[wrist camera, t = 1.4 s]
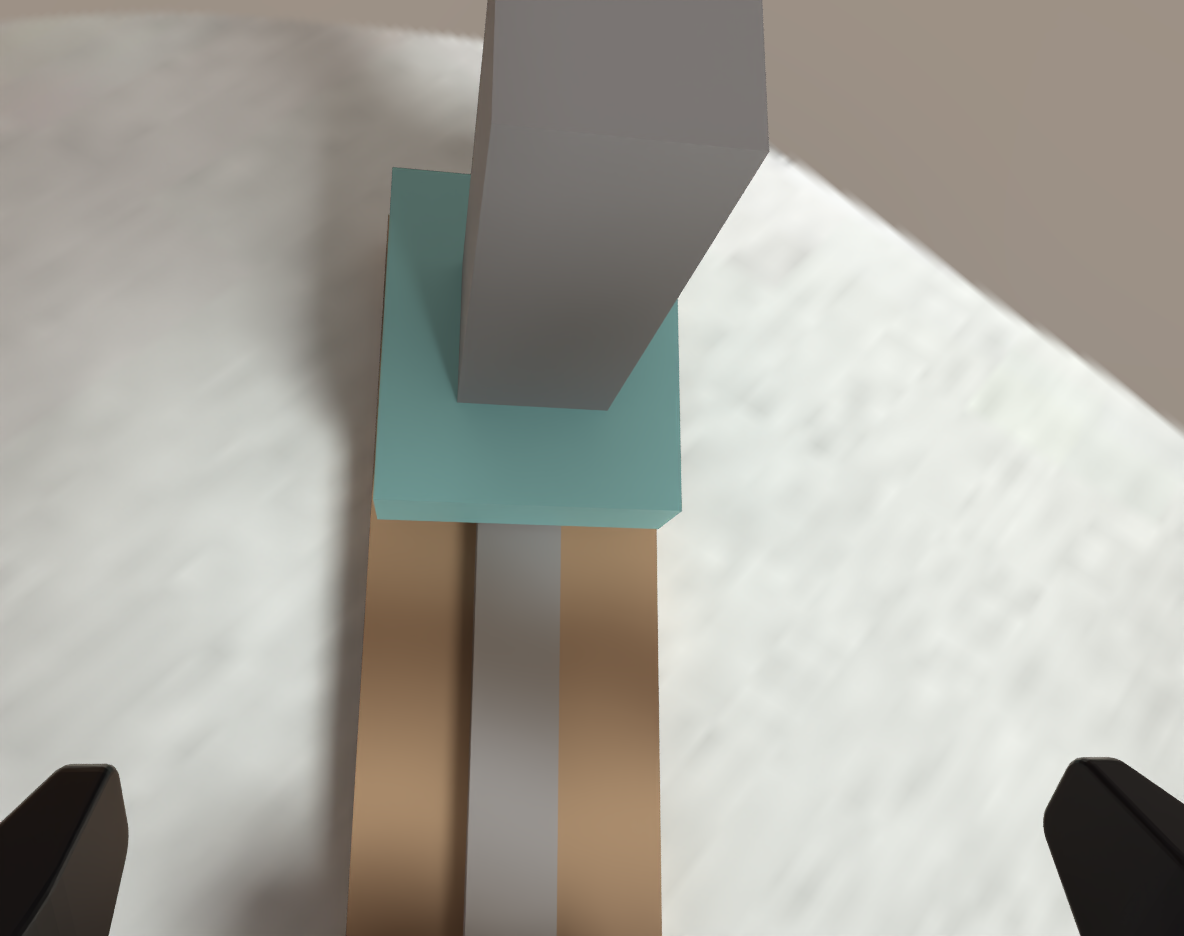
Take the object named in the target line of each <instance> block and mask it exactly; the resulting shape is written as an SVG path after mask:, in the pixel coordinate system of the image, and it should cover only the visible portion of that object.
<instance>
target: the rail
mask: <svg viewBox="0 0 1184 936" xmlns="http://www.w3.org/2000/svg"><path fill="white" fill-rule="evenodd" d="M389 220H390V215H388V231H387V248H386V265H385V281H384V298H383V315H382V332H381V349H380V366H379V383H378V400H377V417H376V434H375V450H374V467H373V484H372V501H371V518H370V535H369V552H368V569H367V586H366V603H365V620H364V636H363V653H362V670H361V687H360V704H359V721H358V738H357V755H356V772H355V789H354V806H353V822H352V839H351V856H350V873H349V890H348V907H347V924H346V936H662V912H661V837H660V761H659V686H658V610H657V535H656V529H642V528H613V527H585V526H556V525H527V524H498V523H469V522H440V521H412V520H383V519H377V515H376V511H375V506H374V501H373V492H374V475H375V458H376V441H377V424H378V407H379V390H380V373H381V356H382V339H383V322H384V305H385V288H386V271H387V254H388V237H389Z"/></svg>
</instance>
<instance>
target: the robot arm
mask: <svg viewBox="0 0 1184 936" xmlns="http://www.w3.org/2000/svg"><path fill="white" fill-rule="evenodd" d="M1043 827H1044V833H1045V837H1046V841H1047V843H1048V846H1049V849H1050V852H1051V855H1052V857H1053V860H1054V863H1055V866H1056V869H1057V871H1058V874H1059V877H1060V880H1061V883H1062V886H1063V888H1064V891H1065V894H1066V897H1067V900H1068V902H1069V905H1070V908H1071V911H1072V914H1073V916H1074V919H1075V922H1076V925H1077V928H1078V930H1079V933H1080V936H1184V804H1183V803H1182V802H1180V801H1179V800H1177V799H1176V798H1174V797H1173V796H1172V795H1170V794H1169V793H1167V792H1166V791H1164V790H1163V789H1162V788H1160V787H1159V786H1157V785H1156V784H1154V783H1153V782H1151V781H1150V780H1149V779H1147V778H1146V777H1144V776H1143V775H1141V774H1140V773H1138V772H1137V771H1136V770H1134V769H1133V768H1131V767H1130V766H1128V765H1127V764H1125V763H1124V762H1122V761H1120V760H1118V759H1115V758H1111V757H1081V758H1077V759H1075V760H1074V761H1072V762H1071V763H1070V764H1069V766H1068V767H1067V769H1066V771H1065V773H1064V775H1063V776H1062V778H1061V780H1060V782H1059V784H1058V786H1057V788H1056V790H1055V792H1054V794H1053V796H1052V798H1051V800H1050V801H1049V803H1048V805H1047V807H1046V810H1045V812H1044V818H1043ZM128 837H129V835H128V823H127V817H126V812H125V806H124V800H123V795H122V789H121V783H120V778H119V774H118V772H117V770H116V768H115V767H114V766H112V765H108V764H69V765H65V766H63V767H61V768H59V769H58V770H56V771H55V772H54V773H53V774H52V775H51V776H50V777H49V778H48V779H46V780H45V781H44V782H43V783H42V784H41V785H40V786H39V787H38V788H37V789H36V790H35V791H34V792H33V793H32V794H30V795H29V796H28V797H27V798H26V799H25V800H24V801H23V802H22V803H21V804H20V805H19V806H18V807H17V808H16V809H14V810H13V811H12V812H11V813H10V814H9V815H8V816H7V817H6V818H5V819H4V820H3V821H2V822H1V823H0V936H108V935H109V931H110V927H111V922H112V918H113V913H114V909H115V904H116V900H117V895H118V891H119V886H120V882H121V878H122V873H123V869H124V864H125V860H126V855H127V848H128Z"/></svg>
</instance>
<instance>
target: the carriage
mask: <svg viewBox="0 0 1184 936" xmlns="http://www.w3.org/2000/svg"><path fill="white" fill-rule="evenodd" d="M768 153H769V137H768V116H767V94H766V72H765V52H764V29H763V8H762V0H488V3H487V14H486V24H485V34H484V44H483V54H482V65H481V75H480V86H479V96H478V106H477V117H476V127H475V137H474V148H473V158H472V168H471V174H461V173H450V172H439V171H429V170H418V169H407V168H396V167H393V169H392V186H391V203H390V220H389V237H388V254H387V271H386V288H385V305H384V322H383V339H382V356H381V373H380V390H379V407H378V424H377V441H376V458H375V475H374V492H373V501H374V506H375V511H376V515H377V519H383V520H412V521H440V522H469V523H498V524H527V525H556V526H585V527H613V528H642V529H659V528H660V527H662V526H663V525H664V524H665V523H667V522H668V521H669V520H671V519H672V518H673V517H675V516H676V515H677V514H678V513H680V512H681V511H682V500H681V449H680V398H679V348H678V297H679V295H680V294H681V292H682V290H683V289H684V287H685V286H686V284H687V282H688V281H689V279H690V278H691V276H692V274H693V273H694V271H695V270H696V268H697V266H698V265H699V263H700V262H701V260H702V258H703V257H704V255H705V254H706V252H707V250H708V249H709V247H710V246H711V244H712V242H713V241H714V239H715V238H716V236H717V234H718V233H719V231H720V230H721V228H722V226H723V225H724V223H725V222H726V220H727V218H728V217H729V215H730V214H731V212H732V210H733V209H734V207H735V206H736V204H737V202H738V201H739V199H740V198H741V196H742V194H743V193H744V191H745V190H746V188H747V186H748V185H749V183H750V181H751V180H752V178H753V177H754V175H755V173H756V172H757V170H758V169H759V167H760V165H761V164H762V162H763V161H764V159H765V157H766V156H767V154H768Z"/></svg>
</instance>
